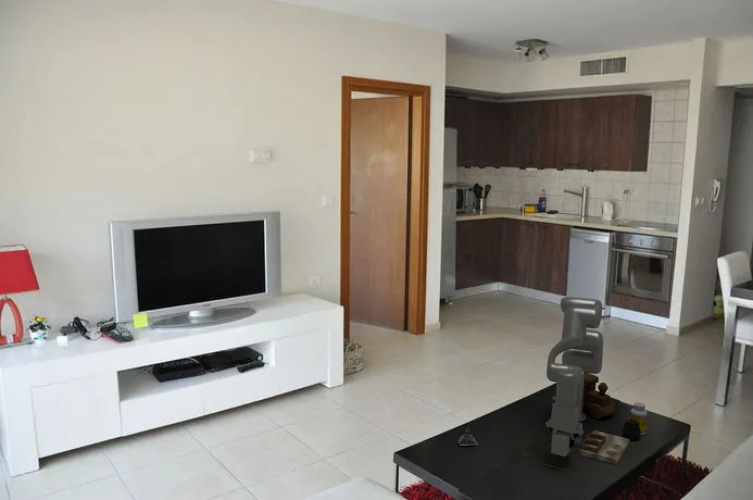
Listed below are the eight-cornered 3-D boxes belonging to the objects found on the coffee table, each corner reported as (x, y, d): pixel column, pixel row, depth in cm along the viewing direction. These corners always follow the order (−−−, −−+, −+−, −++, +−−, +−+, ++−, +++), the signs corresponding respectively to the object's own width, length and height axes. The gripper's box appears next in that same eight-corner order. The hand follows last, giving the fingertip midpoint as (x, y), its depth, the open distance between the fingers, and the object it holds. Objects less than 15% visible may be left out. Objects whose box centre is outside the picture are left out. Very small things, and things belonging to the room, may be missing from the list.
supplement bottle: (643, 437, 264) (644, 408, 263) (627, 432, 269) (629, 404, 267) (648, 432, 269) (649, 404, 268) (632, 427, 274) (634, 400, 272)
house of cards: (478, 438, 263) (479, 421, 262) (480, 447, 255) (481, 430, 253) (457, 437, 264) (458, 420, 263) (459, 446, 255) (459, 429, 254)
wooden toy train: (566, 408, 295) (567, 375, 293) (580, 402, 302) (582, 370, 299) (602, 422, 279) (604, 387, 277) (617, 416, 286) (619, 382, 283)
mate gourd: (625, 441, 261) (627, 419, 259) (619, 433, 268) (620, 411, 267) (642, 441, 260) (644, 419, 259) (635, 433, 268) (637, 412, 266)
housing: (551, 452, 239) (552, 435, 238) (561, 441, 249) (562, 424, 248) (565, 456, 236) (566, 439, 235) (574, 444, 246) (575, 428, 245)
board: (578, 454, 249) (579, 445, 248) (594, 434, 267) (594, 426, 266) (616, 464, 240) (617, 455, 240) (629, 443, 258) (630, 435, 258)
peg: (570, 444, 258) (571, 423, 256) (572, 440, 261) (574, 420, 260) (579, 446, 255) (580, 426, 254) (582, 443, 259) (583, 422, 257)
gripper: (541, 400, 242) (539, 443, 244) (585, 410, 232) (582, 455, 235) (547, 394, 248) (545, 436, 250) (590, 404, 238) (588, 447, 241)
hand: (563, 445), depth 242 cm, fingers closed on housing, 5 cm apart
